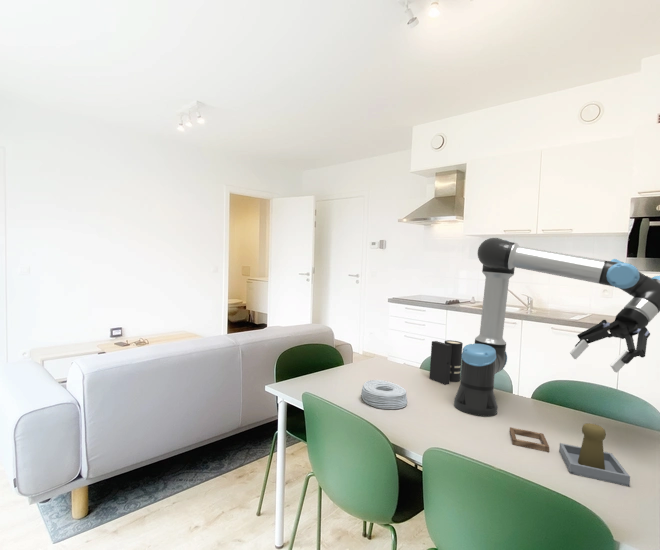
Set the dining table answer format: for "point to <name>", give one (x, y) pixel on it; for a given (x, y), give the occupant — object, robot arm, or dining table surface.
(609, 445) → the dining table surface
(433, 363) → the light fixture
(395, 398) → the cable
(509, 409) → the dining table surface
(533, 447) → the socket holder
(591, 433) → the cork
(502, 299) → the robot arm
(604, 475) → the tray
